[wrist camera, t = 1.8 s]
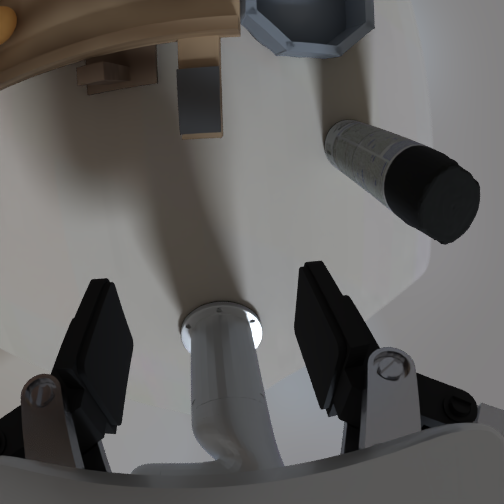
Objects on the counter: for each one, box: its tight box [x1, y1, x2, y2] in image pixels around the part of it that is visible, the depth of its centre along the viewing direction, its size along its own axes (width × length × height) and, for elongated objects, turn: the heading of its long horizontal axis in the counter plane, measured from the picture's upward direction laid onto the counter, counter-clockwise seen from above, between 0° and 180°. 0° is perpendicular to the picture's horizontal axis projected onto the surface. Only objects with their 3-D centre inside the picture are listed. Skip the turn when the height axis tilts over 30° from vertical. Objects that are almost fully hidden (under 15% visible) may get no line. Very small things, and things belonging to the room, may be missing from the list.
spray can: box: [325, 120, 480, 244], centre depth 27 cm, size 7×7×20 cm
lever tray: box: [0, 0, 240, 140], centre depth 18 cm, size 20×24×7 cm
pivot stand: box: [77, 45, 158, 95], centre depth 20 cm, size 18×8×10 cm, turn 0°
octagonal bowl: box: [240, 0, 375, 59], centre depth 24 cm, size 13×13×6 cm
